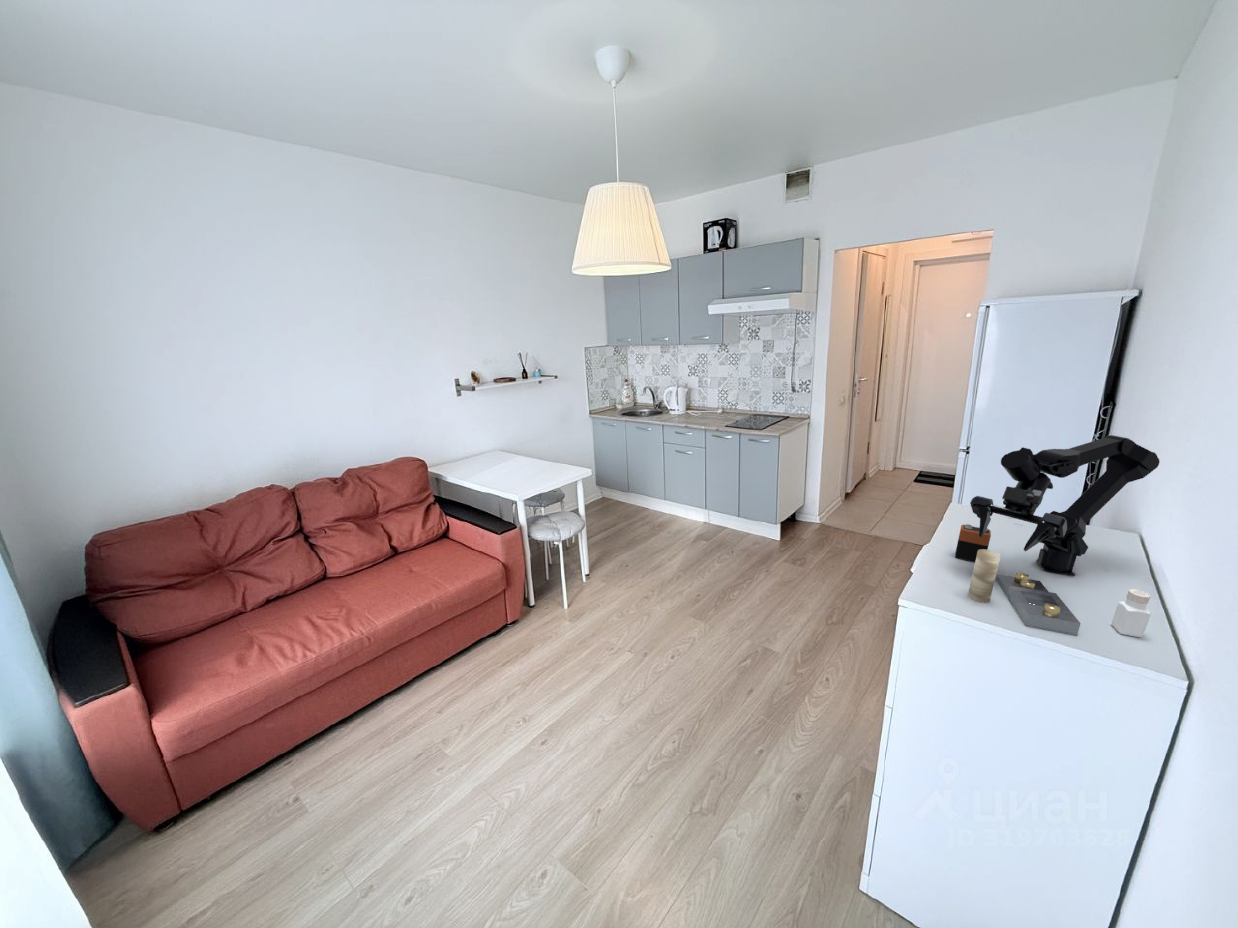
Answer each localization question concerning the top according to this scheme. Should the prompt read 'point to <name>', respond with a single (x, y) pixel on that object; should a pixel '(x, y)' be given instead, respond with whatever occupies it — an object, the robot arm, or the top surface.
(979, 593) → the pin
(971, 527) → the battery
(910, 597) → the top surface
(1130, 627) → the salt shaker
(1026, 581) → the mounting plate
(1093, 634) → the top surface
